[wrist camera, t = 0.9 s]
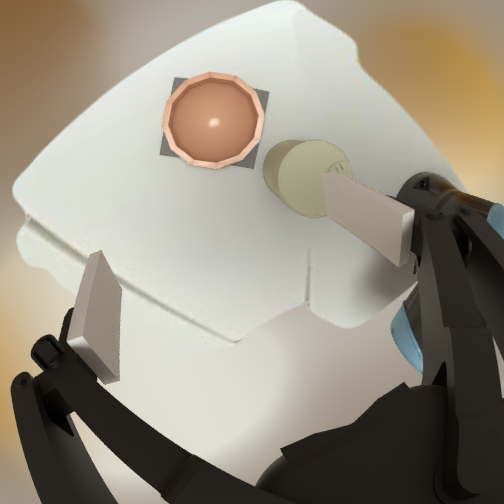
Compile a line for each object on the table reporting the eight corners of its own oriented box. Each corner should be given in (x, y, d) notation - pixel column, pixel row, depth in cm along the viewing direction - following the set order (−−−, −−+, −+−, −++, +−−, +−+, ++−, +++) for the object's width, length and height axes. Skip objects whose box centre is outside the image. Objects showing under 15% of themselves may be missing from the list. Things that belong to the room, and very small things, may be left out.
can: (331, 181, 44) (366, 195, 33) (282, 210, 45) (302, 233, 34) (304, 129, 40) (333, 126, 29) (251, 159, 41) (262, 164, 30)
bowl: (267, 87, 37) (271, 82, 34) (250, 172, 42) (252, 175, 39) (178, 73, 35) (174, 67, 32) (161, 159, 40) (156, 160, 36)
